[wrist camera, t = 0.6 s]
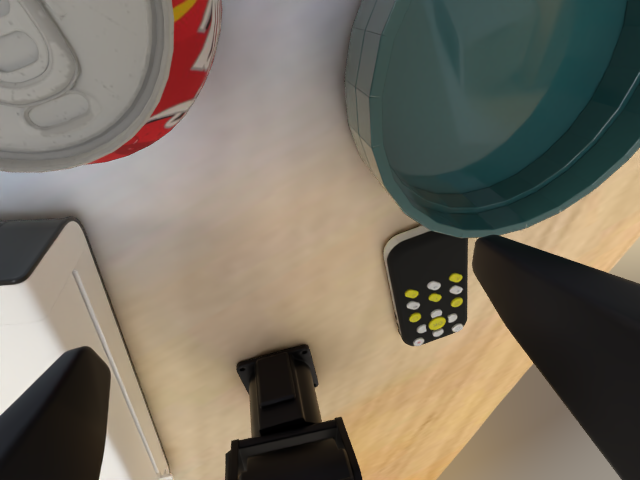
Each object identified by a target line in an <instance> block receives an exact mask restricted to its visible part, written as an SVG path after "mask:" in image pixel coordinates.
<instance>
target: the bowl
mask: <svg viewBox="0 0 640 480" xmlns="http://www.w3.org/2000/svg"><path fill="white" fill-rule="evenodd" d="M344 78H345V80H344V82H345V94H346V106H347V117H348V124H349V127H350V130H351V133H352V135H353V138H354V141H355V144H356V146H357V149H358V152H359V155H360V157H361V159H362V160H363V162H364V163H365V164H366V166H367V167H368V168H369V170H370V171H371V172H372V174H373V175H374V176H375V177H376V179H377V180H378V181H379V183H380V184H381V185H382V186H383V188H384V189H385V190H386V191H387V193H388V194H389V195H390V196H391V198H392V199H393V200H394V201H395V203H396V204H397V205H398V206H399V207H400V209H401V210H402V211H403V212H404V213H405V214H406V215H407V216H409V217H410V218H412V219H413V220H415V221H416V222H418V223H419V224H421V225H423V226H424V227H426V228H427V229H429V230H431V231H434V232H438V233H442V234H446V235H450V236H454V237H458V238H481V237H485V236H488V235H493V234H494V235H503V234H507V233H510V232H514V231H518V230H522V229H525V228H528V227H530V226H532V225H534V224H537V223H539V222H541V221H543V220H545V219H547V218H550V217H552V216H554V215H556V214H558V213H560V212H562V211H563V210H565V209H566V208H568V207H569V206H571V205H572V204H574V203H575V202H577V201H578V200H580V199H581V198H583V197H584V196H586V195H587V194H589V193H590V192H592V191H593V190H594V189H596V188H597V187H598V186H600V185H601V184H602V183H603V182H604V181H605V180H606V179H608V178H609V177H610V176H611V175H612V174H613V173H614V172H615V171H617V170H618V169H619V168H620V167H621V166H622V165H623V164H625V163H626V162H627V161H628V160H629V159H630V158H631V157H632V156H633V155H634V153H635V152H636V151H637V150H638V149H639V148H640V0H362V2H361V4H360V7H359V10H358V12H357V15H356V18H355V20H354V23H353V26H352V30H351V37H350V44H349V50H348V57H347V64H346V71H345V77H344Z"/></svg>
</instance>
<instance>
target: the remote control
mask: <svg viewBox="0 0 640 480" xmlns="http://www.w3.org/2000/svg"><path fill="white" fill-rule="evenodd" d="M383 255H384V261H385V266H386V271H387V276H388V281H389V286H390V291H391V295H392V300H393V305H394V310H395V317H396V320H397V325H398V331H399V334H400V335H401V337H402V339H403V341H404V342H405V343H406V344H408V345H410V346H420V345H422V344H425V343H428V342H431V341H433V340H436V339H439V338H442V337H444V336H447V335H450V334H453V333H455V332H458V331H460V330H461V329H462V328H463V326H464V325H465V323H466V321H467V266H468V238H458V237H454V236H450V235H446V234H442V233H438V232H434V231H431V230H429V229H427V228H426V227H424V226H423V225H422V226H419V227H417V228H414V229H411V230H408V231H406V232H403V233H400V234H398V235H396V236H394V237H393V238H391V239H390V240H389V241H388V242H387V244H386V246H385V248H384V251H383Z"/></svg>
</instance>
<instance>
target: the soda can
mask: <svg viewBox="0 0 640 480" xmlns="http://www.w3.org/2000/svg"><path fill="white" fill-rule="evenodd" d="M221 19H222V0H0V171H5V172H49V171H57V170H64V169H70V168H73V167H77V166H80V165H87V164H94V163H102V162H108V161H111V160H115V159H118V158H122V157H125V156H129V155H131V154H133V153H135V152H137V151H139V150H141V149H143V148H145V147H147V146H149V145H151V144H153V143H154V142H156V141H157V140H158V139H160V138H161V137H163V136H164V135H165V134H167V133H168V132H170V131H171V130H172V128H173V127H174V126H175V125H176V124H177V123H178V122H179V121H180V120H181V119H182V118H183V117H184V116H185V115H186V113H187V111H188V110H189V108H190V107H191V105H192V104H193V102H194V101H195V99H196V98H197V96H198V94H199V92H200V91H201V89H202V87H203V85H204V83H205V80H206V78H207V76H208V73H209V71H210V68H211V66H212V63H213V60H214V56H215V52H216V48H217V43H218V39H219V35H220V30H221Z"/></svg>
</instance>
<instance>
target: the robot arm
mask: <svg viewBox="0 0 640 480" xmlns="http://www.w3.org/2000/svg"><path fill="white" fill-rule="evenodd" d="M472 268H473V271H474V274H475V276H476V277H477V279H478V281H479V282H480V284H481V286H482V287H483V289H484V291H485V292H486V294H487V296H488V297H489V299H490V301H491V302H492V304H493V306H494V307H495V309H496V311H497V312H498V314H499V316H500V317H501V319H502V320H503V322H504V323H505V325H506V327H507V328H508V329H509V331H510V332H511V334H512V335H513V336H514V338H515V339H516V340H517V342H518V343H519V344H520V346H521V347H522V348H523V349H524V351H525V352H526V353H527V355H528V356H529V357H530V359H531V360H532V361H533V363H534V364H535V365H536V367H537V368H538V369H539V371H540V372H541V373H542V375H543V376H544V377H545V379H546V380H547V381H548V382H549V384H550V385H551V387H552V388H553V389H554V391H555V392H556V393H557V395H558V396H559V397H560V398H561V400H562V401H563V402H564V404H565V405H566V406H567V408H568V409H569V410H570V412H571V413H572V414H573V416H574V417H575V418H576V420H577V421H578V422H579V424H580V425H581V426H582V428H583V429H584V430H585V432H586V433H587V434H588V435H589V437H590V438H591V440H592V441H593V442H594V443H595V445H596V446H597V447H598V449H599V450H600V451H601V453H602V454H603V455H604V457H605V458H606V459H607V461H608V462H609V463H610V465H611V466H612V467H613V469H614V470H615V471H616V473H617V474H618V475H619V477H620V478H621V479H622V480H640V284H639V283H636V282H633V281H630V280H627V279H624V278H621V277H618V276H615V275H612V274H609V273H606V272H604V271H601V270H598V269H595V268H592V267H589V266H586V265H583V264H580V263H577V262H574V261H571V260H569V259H566V258H563V257H560V256H557V255H554V254H551V253H548V252H545V251H542V250H539V249H537V248H534V247H531V246H528V245H525V244H522V243H519V242H516V241H513V240H510V239H507V238H504V237H502V236H499V235H494V234H493V235H488V236H485V237H481V238H479V239H477V241H476V242H475V248H474V255H473V261H472ZM237 372H238V374H239V376H240V378H241V380H242V382H243V384H244V386H245V388H246V390H247V392H248V394H249V397H250V415H251V433H252V438H248V439H243V440H239V439H237V440H233V441H231V450H230V451H229V452H228V453H226V470H225V480H362V476H361V472H360V468H359V465H358V462H357V459H356V456H355V453H354V451H353V448H352V445H351V442H350V439H349V437H348V434H347V431H346V428H345V425H344V423H343V420H342V417H338V418H335V420H330V421H326V422H322V420H321V415H320V411H319V406H318V402H317V397H316V393H315V387H317V386H318V380H317V376H316V372H315V368H314V364H313V360H312V356H311V353H310V349H309V346H308V345H302V346H298V347H294V348H291V349H287V350H283V351H280V352H276V353H272V354H269V355H265V356H262V357H258V358H254V359H251V360H247V361H243V362H240V363H238V364H237ZM110 384H111V372H110V369H109V367H108V365H107V364H106V363H105V362H104V361H103V360H102V359H101V358H100V356H99V355H98V354H97V353H96V352H95V351H94V350H93V349H92V348H91V347H88V346H82V347H78V348H75V349H71V350H68V351H66V352H64V353H63V354H62V355H61V356H60V357H59V358H58V359H57V360H56V361H55V362H54V363H53V364H52V365H51V366H50V367H49V368H48V369H47V370H46V371H45V372H44V373H43V374H42V375H41V376H40V377H39V378H38V379H37V380H36V381H35V382H34V383H33V384H32V385H31V386H30V387H29V388H28V389H27V390H26V391H25V392H24V393H23V394H22V395H21V396H20V397H19V398H18V399H17V400H16V401H14V402H13V403H12V404H11V405H10V406H9V407H8V408H7V409H6V410H5V411H4V412H3V413H2V414H1V415H0V480H99V477H100V472H101V466H102V461H103V455H104V449H105V442H106V433H107V421H108V409H109V397H110Z"/></svg>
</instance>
